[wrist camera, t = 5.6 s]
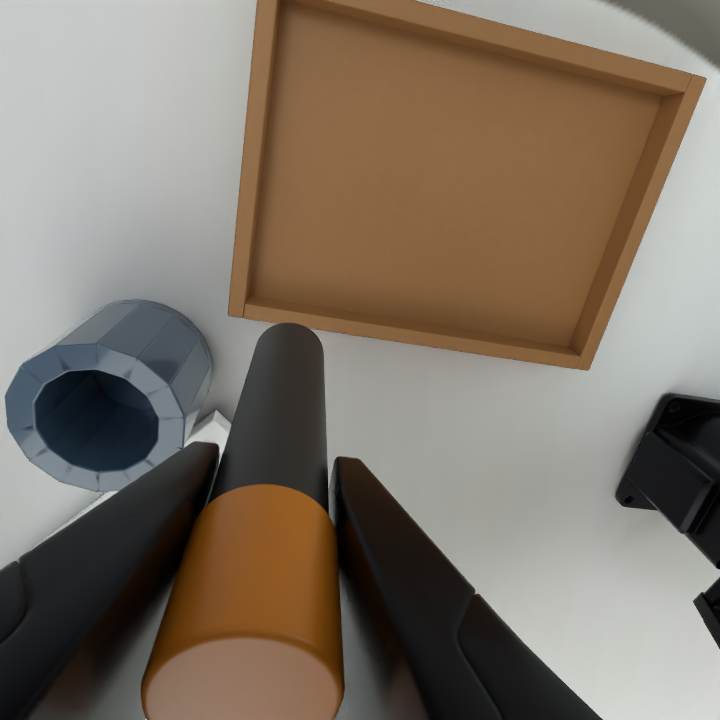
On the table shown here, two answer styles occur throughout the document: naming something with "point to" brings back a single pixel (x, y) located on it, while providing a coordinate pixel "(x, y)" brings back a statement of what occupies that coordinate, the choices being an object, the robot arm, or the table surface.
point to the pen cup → (111, 395)
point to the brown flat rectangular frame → (446, 178)
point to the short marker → (259, 561)
